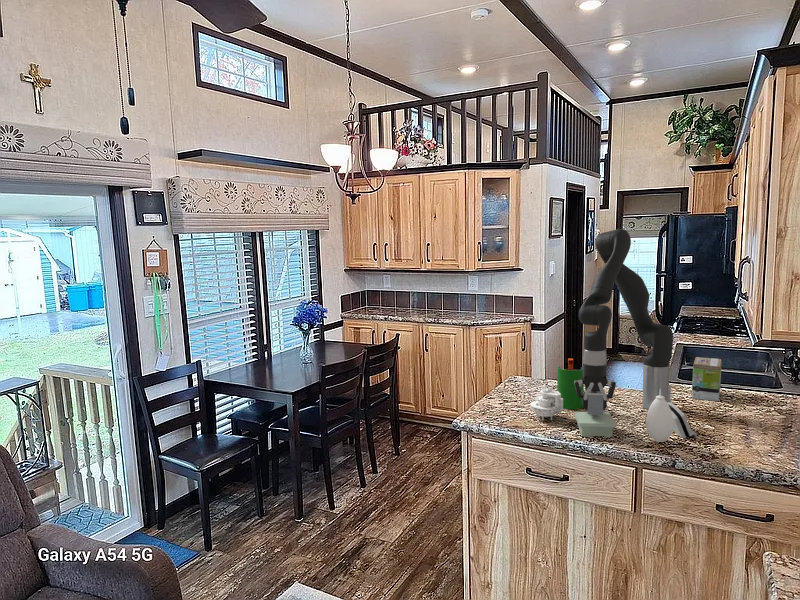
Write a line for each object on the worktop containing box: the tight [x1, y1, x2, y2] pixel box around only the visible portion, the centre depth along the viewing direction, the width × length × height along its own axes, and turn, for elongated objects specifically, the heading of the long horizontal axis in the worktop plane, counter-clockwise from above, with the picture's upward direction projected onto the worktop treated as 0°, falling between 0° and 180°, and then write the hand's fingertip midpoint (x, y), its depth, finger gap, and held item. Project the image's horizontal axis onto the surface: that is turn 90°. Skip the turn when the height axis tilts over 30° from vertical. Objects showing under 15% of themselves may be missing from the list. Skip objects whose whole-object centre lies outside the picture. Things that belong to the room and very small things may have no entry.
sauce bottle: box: [645, 389, 673, 443], centre depth 175 cm, size 8×8×18 cm
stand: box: [573, 411, 617, 438], centre depth 187 cm, size 12×12×5 cm
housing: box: [584, 385, 604, 415], centre depth 189 cm, size 5×9×8 cm, turn 168°
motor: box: [556, 358, 585, 410], centre depth 214 cm, size 10×9×20 cm
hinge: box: [667, 402, 698, 439], centre depth 186 cm, size 17×5×10 cm, turn 176°
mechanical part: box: [529, 385, 564, 421], centre depth 202 cm, size 11×12×12 cm
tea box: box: [691, 356, 722, 402], centre depth 223 cm, size 15×10×15 cm, turn 148°
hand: (594, 409), depth 187 cm, fingers closed on housing, 5 cm apart
